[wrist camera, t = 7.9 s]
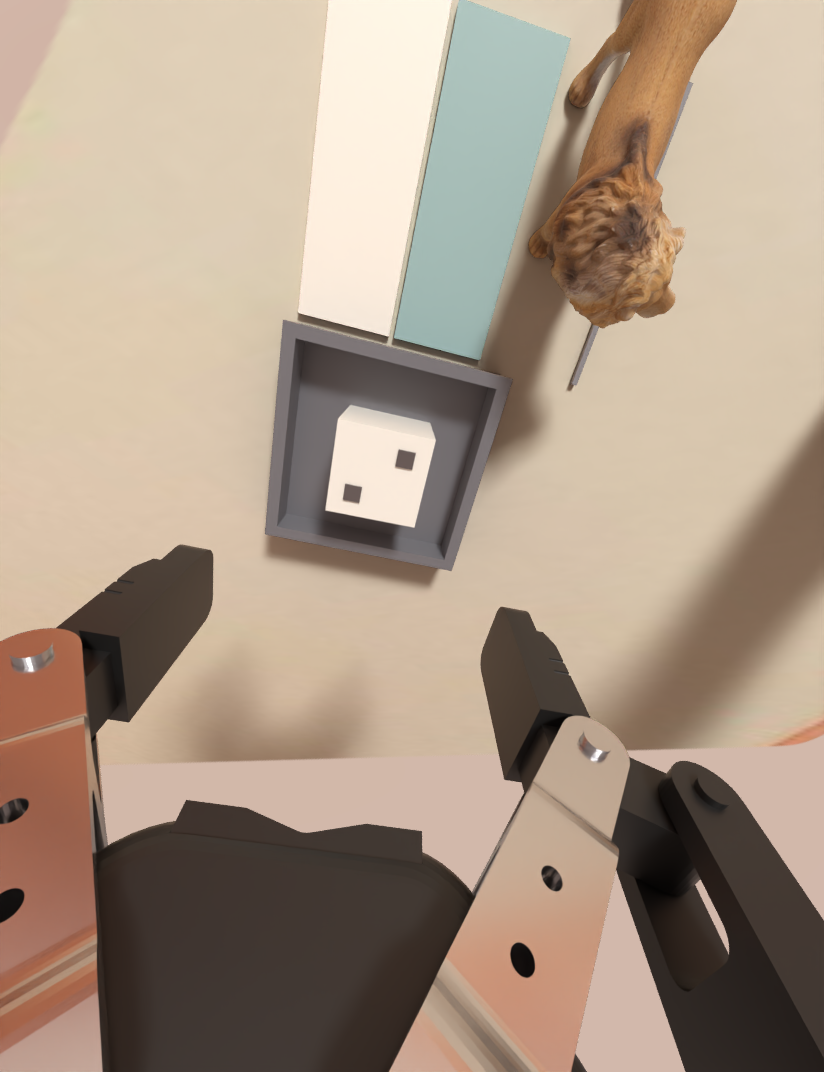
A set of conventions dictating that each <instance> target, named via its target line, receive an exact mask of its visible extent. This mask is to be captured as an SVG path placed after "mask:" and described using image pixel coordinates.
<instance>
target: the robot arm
mask: <svg viewBox="0 0 824 1072" xmlns="http://www.w3.org/2000/svg"><path fill="white" fill-rule="evenodd" d="M212 600H213V554H212V551H211V550H207V549H202V548H197V547H191V546H186V545H178V546H177V547H175V548H174V549H173V550H172V551H171V552H170V553H168V554H167V555H166V556H165V557H164V558H163V559H161V560H158V559H152V560H149V561H147V562H144V563H142V564H139V565H137V566H134V567H132V568H131V569H130V570H129V571H127V572H126V573H125V574H123V575H122V576H121V577H120V578H118V580H117V582H113V583H112V584H111V585H110V586H108V587H107V588H106V589H105V591H104V592H101V593H100V594H98V595H97V596H96V597H94V598H93V599H92V600H91V601H89V602H88V603H87V604H86V605H84V606H83V607H82V608H81V609H79V610H78V611H77V612H76V613H74V614H73V615H72V616H70V617H69V618H68V619H67V620H65V621H64V622H63V623H62V624H60V625H59V626H58V627H57V628H47V629H37V630H31V631H27V632H23V633H20V634H16V635H14V636H11V637H9V638H6V639H4V640H2V641H0V1072H587V1071H586V1070H585V1068H584V1067H583V1065H582V1063H581V1062H580V1060H579V1059H578V1057H577V1056H576V1054H575V1051H576V1047H577V1043H578V1038H579V1034H580V1029H581V1024H582V1020H583V1016H584V1011H585V1007H586V1002H587V998H588V993H589V989H590V984H591V979H592V975H593V971H594V966H595V962H596V957H597V952H598V948H599V943H600V939H601V934H602V930H603V926H604V921H605V916H606V912H607V908H608V903H609V899H610V893H611V890H612V885H613V880H614V876H615V872H616V870H617V874H618V877H619V880H620V882H621V885H622V888H623V891H624V894H625V897H626V900H627V903H628V906H629V908H630V911H631V914H632V917H633V920H634V923H635V926H636V929H637V932H638V935H639V937H640V941H641V943H642V946H643V949H644V952H645V955H646V958H647V961H648V964H649V967H650V969H651V973H652V976H653V978H654V981H655V984H656V987H657V990H658V993H659V996H660V999H661V1002H662V1005H663V1008H664V1010H665V1013H666V1016H667V1019H668V1022H669V1025H670V1028H671V1031H672V1034H673V1036H674V1039H675V1042H676V1045H677V1048H678V1051H679V1054H680V1057H681V1060H682V1063H683V1066H684V1068H685V1071H686V1072H824V920H823V919H822V917H821V916H820V914H819V913H818V911H817V910H816V908H815V907H814V905H813V904H812V903H811V901H810V900H809V898H808V897H807V895H806V894H805V892H804V891H803V889H802V888H801V886H800V885H799V883H798V882H797V880H796V879H795V877H794V876H793V875H792V873H791V872H790V870H789V869H788V867H787V866H786V864H785V863H784V861H783V860H782V858H781V857H780V855H779V854H778V852H777V851H776V849H775V848H774V847H773V845H772V844H771V842H770V841H769V839H768V838H767V836H766V835H765V834H764V832H763V830H762V829H761V827H760V826H759V825H758V823H757V821H756V820H755V819H754V817H753V816H752V814H751V813H750V811H749V810H748V808H747V807H746V805H745V804H744V802H743V801H742V800H741V798H740V797H739V796H738V794H737V793H736V792H735V791H734V790H733V789H732V788H731V787H730V786H729V785H728V784H727V783H726V782H724V780H722V779H721V778H720V777H718V776H717V775H716V774H714V773H713V772H711V771H710V770H708V769H706V768H704V767H702V766H700V765H698V764H696V763H692V762H688V761H679V762H676V763H675V764H674V765H673V766H672V767H671V769H670V770H669V771H668V772H667V774H666V773H664V772H661V771H659V770H657V769H655V768H652V767H650V766H648V765H645V764H643V763H641V762H639V761H636V760H634V759H632V758H630V757H629V755H628V753H627V751H626V749H625V747H624V745H623V744H622V742H621V741H620V740H619V739H618V737H617V736H616V735H615V734H614V733H613V732H612V731H610V730H609V729H608V728H607V727H605V726H604V725H602V724H601V723H599V722H597V721H595V720H593V719H591V718H590V716H589V714H588V712H587V710H586V708H585V705H584V703H583V701H582V699H581V697H580V695H579V693H578V691H577V689H576V687H575V685H574V683H573V680H572V678H571V676H569V675H568V674H569V672H568V670H567V668H566V666H565V664H564V663H563V660H562V658H561V655H560V653H559V651H558V649H557V647H556V646H555V644H554V643H553V642H552V641H551V640H550V639H549V638H548V637H547V636H546V635H545V634H544V633H543V632H539V631H537V630H536V628H535V626H534V624H533V621H532V619H531V617H530V615H529V613H528V612H527V611H522V610H517V609H511V608H506V607H500V608H499V609H498V611H497V613H496V616H495V618H494V621H493V624H492V626H491V629H490V631H489V634H488V636H487V639H486V642H485V644H484V647H483V650H482V654H481V672H482V677H483V682H484V686H485V691H486V696H487V700H488V705H489V710H490V714H491V719H492V724H493V728H494V733H495V738H496V743H497V747H498V752H499V756H500V761H501V766H502V771H503V775H504V779H505V780H510V781H516V782H522V785H523V789H524V794H523V796H522V797H521V800H520V801H519V803H518V805H517V807H516V809H515V811H514V813H513V815H512V817H511V819H510V821H509V822H508V824H507V826H506V828H505V830H504V832H503V834H502V836H501V838H500V840H499V842H498V844H497V846H496V847H495V849H494V852H493V853H492V855H491V857H490V859H489V861H488V863H487V865H486V867H485V869H484V871H483V872H482V874H481V876H480V878H479V880H478V882H477V884H476V885H475V887H474V889H473V891H472V892H471V891H470V890H469V888H468V887H467V886H466V885H465V884H464V883H463V882H462V881H461V880H460V879H459V878H458V877H457V876H456V875H455V874H454V873H453V872H452V871H451V870H449V869H448V868H447V867H446V866H444V865H443V864H442V863H440V862H439V861H437V860H436V859H434V858H432V857H431V856H429V855H427V854H425V853H423V852H422V831H416V830H408V829H400V828H393V827H386V826H378V825H371V824H363V825H356V826H350V827H344V828H337V829H331V830H324V831H318V832H312V833H302V832H299V831H296V830H294V829H292V828H290V827H287V826H285V825H283V824H281V823H278V822H276V821H274V820H272V819H270V818H267V817H265V816H263V815H261V814H258V813H256V812H254V811H252V810H250V809H248V808H242V807H235V806H228V805H220V804H212V803H205V802H197V801H190V800H186V802H185V804H184V806H183V808H182V810H181V812H180V814H179V816H178V818H177V820H176V821H173V822H167V823H163V824H159V825H155V826H152V827H148V828H146V829H143V830H140V831H138V832H135V833H132V834H130V835H128V836H126V837H124V838H122V839H119V840H118V841H115V842H113V843H111V844H110V845H108V842H107V834H106V827H105V817H104V807H103V795H102V784H101V773H100V761H99V749H98V739H97V732H98V730H99V729H100V728H101V727H102V725H103V724H104V723H105V722H106V721H107V719H110V720H116V721H123V722H130V720H131V719H132V718H133V716H134V715H135V714H136V712H137V711H138V710H139V708H140V707H141V706H142V704H143V703H144V702H145V700H146V699H147V698H148V696H149V695H150V694H151V692H152V691H153V690H154V688H155V687H156V686H157V684H158V683H159V682H160V680H161V679H162V678H163V676H164V675H165V674H166V672H167V671H168V670H169V668H170V667H171V666H172V664H173V663H174V662H175V660H176V659H177V658H178V656H179V655H180V654H181V652H182V651H183V650H184V648H185V647H186V646H187V644H188V643H189V642H190V640H191V639H192V638H193V636H194V635H195V634H196V632H197V631H198V630H199V628H200V627H201V626H202V624H203V623H204V622H205V620H206V619H207V617H208V615H209V612H210V609H211V606H212ZM700 879H701V881H702V883H703V885H704V887H705V889H706V891H707V893H708V895H709V897H710V899H711V901H712V903H713V905H714V907H715V909H716V911H717V913H718V915H719V917H720V919H721V921H722V923H723V925H724V927H725V930H726V933H727V937H728V941H729V954H728V952H727V950H726V948H725V946H724V944H723V942H722V940H721V938H720V936H719V934H718V932H717V930H716V927H715V925H714V923H713V921H712V919H711V917H710V915H709V913H708V911H707V909H706V907H705V905H704V902H703V901H702V898H701V897H700V894H699V892H698V890H697V888H696V886H695V884H696V883H697V882H698V881H699V880H700Z"/></svg>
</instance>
